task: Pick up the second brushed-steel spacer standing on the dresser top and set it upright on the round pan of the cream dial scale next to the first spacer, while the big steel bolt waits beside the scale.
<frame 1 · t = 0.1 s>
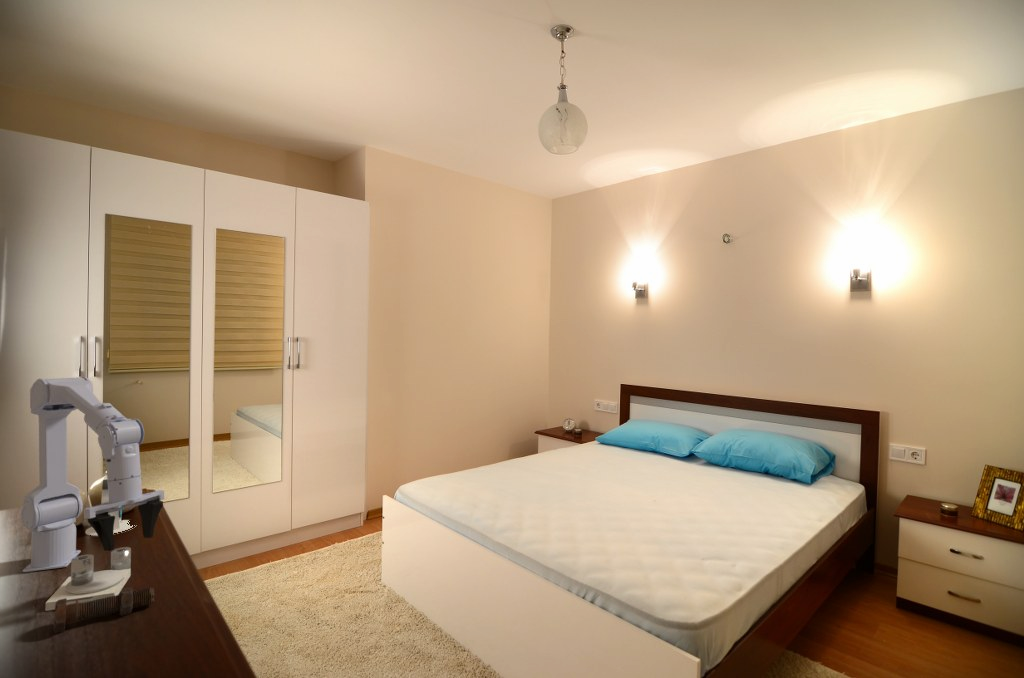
hand: (129, 543, 109), 10 cm above the table, tool pointing down, fingers open, 7 cm apart
spacer a: (82, 581, 109), point 2 cm above the table, touching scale
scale: (90, 592, 109), on the table
spacer b: (120, 572, 119), on the table
white rounded piece: (111, 529, 145), on the table
bolt: (106, 619, 100), on the table
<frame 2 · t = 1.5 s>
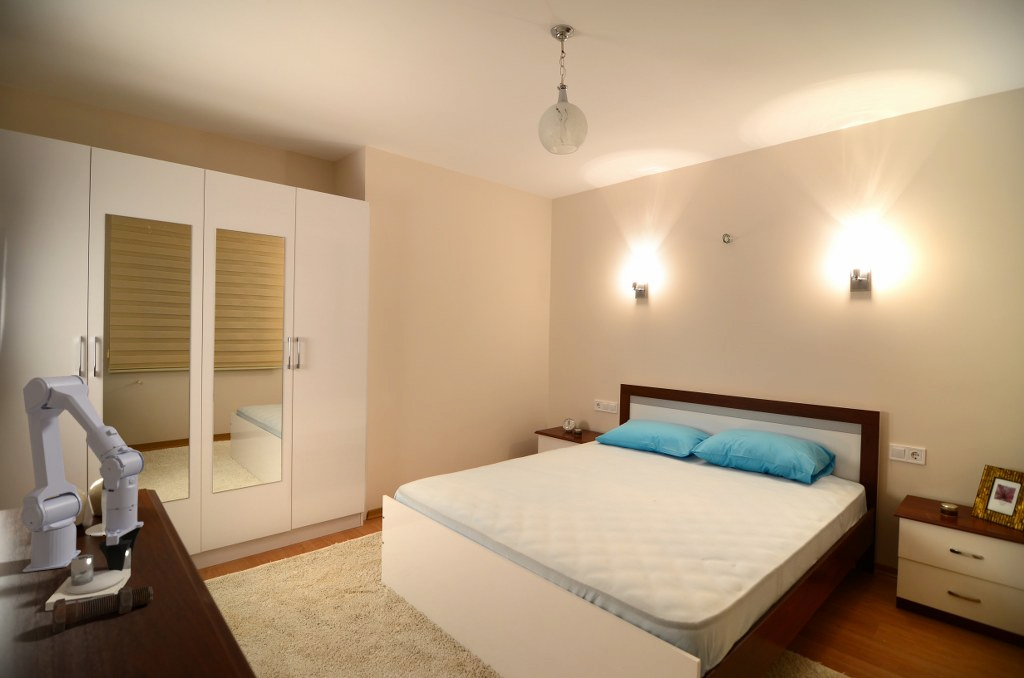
hand: (121, 565, 119), 1 cm above the table, tool pointing down, fingers open, 7 cm apart
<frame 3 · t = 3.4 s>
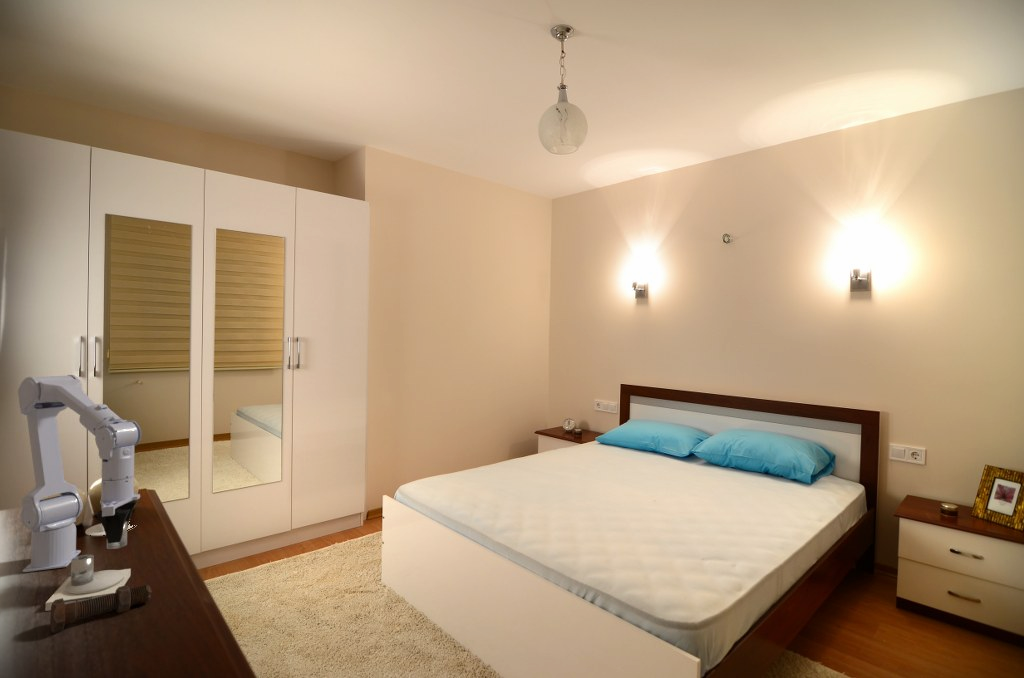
hand: (117, 538, 115), 9 cm above the table, tool pointing down, fingers closed on spacer b, 4 cm apart
spacer b: (116, 545, 115), point 7 cm above the table, touching gripper
when the fingers open (5 cm above the table, at t = 4.8 s): spacer b drops 1 cm, resting on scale.
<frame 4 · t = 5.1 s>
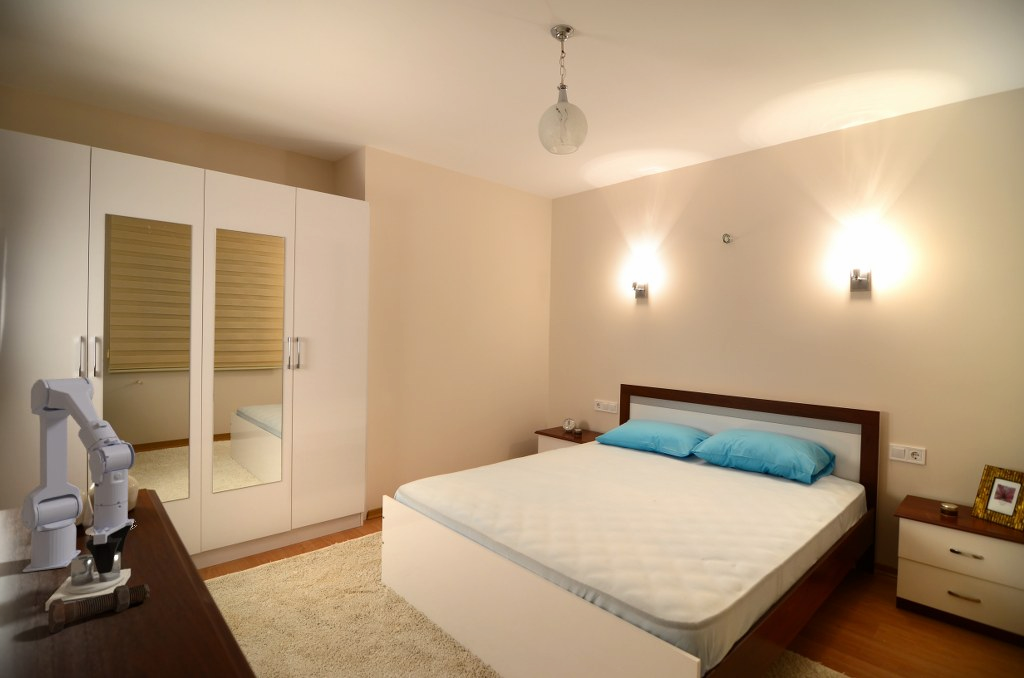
hand: (110, 565, 110), 5 cm above the table, tool pointing down, fingers open, 6 cm apart
spacer b: (109, 578, 110), point 2 cm above the table, touching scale
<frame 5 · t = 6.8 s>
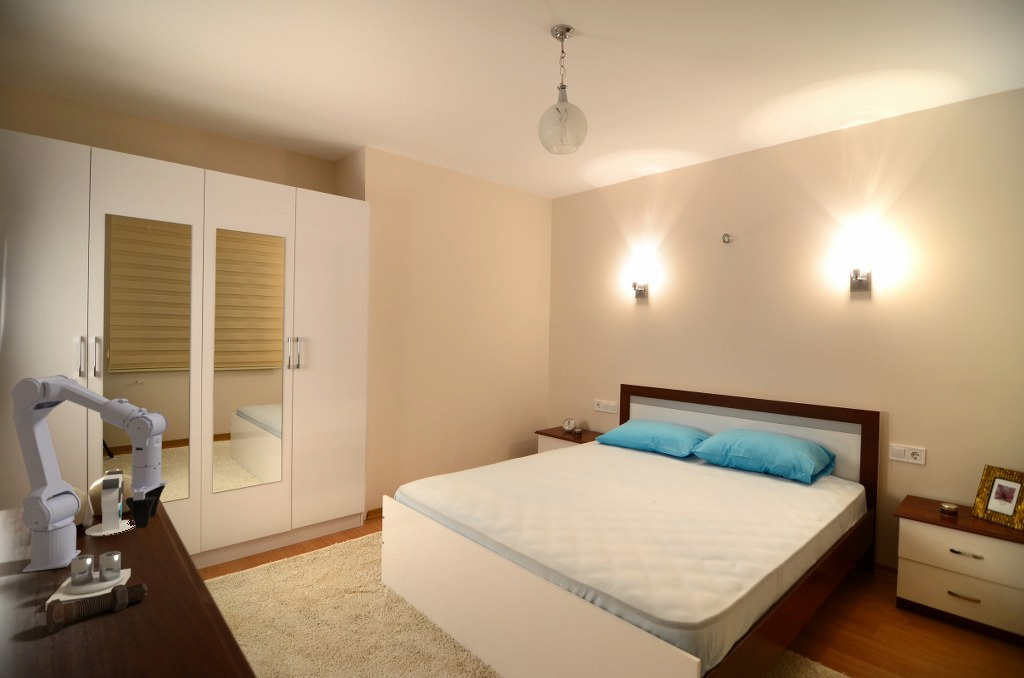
hand: (145, 522, 123), 10 cm above the table, tool pointing down, fingers open, 7 cm apart
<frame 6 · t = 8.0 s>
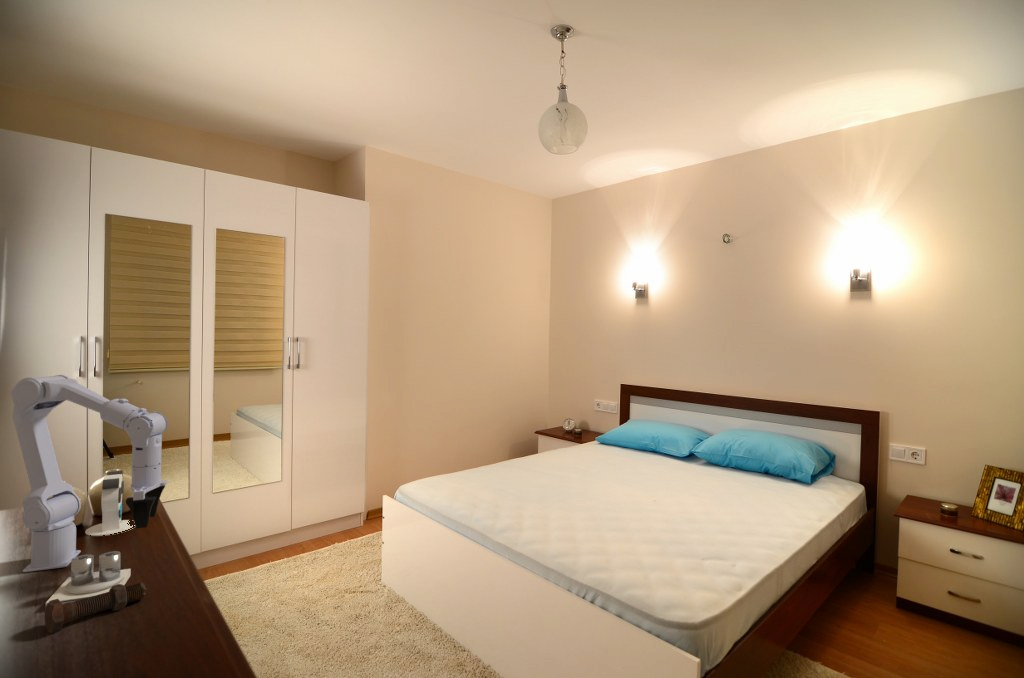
hand: (145, 522, 123), 10 cm above the table, tool pointing down, fingers open, 7 cm apart
at the end: spacer b inside the target area on the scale (0.2 cm from its centre), point 2.4 cm above the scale's base; spacer b tilted 0°; spacer a inside the target area on the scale (0.2 cm from its centre), point 2.4 cm above the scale's base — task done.
